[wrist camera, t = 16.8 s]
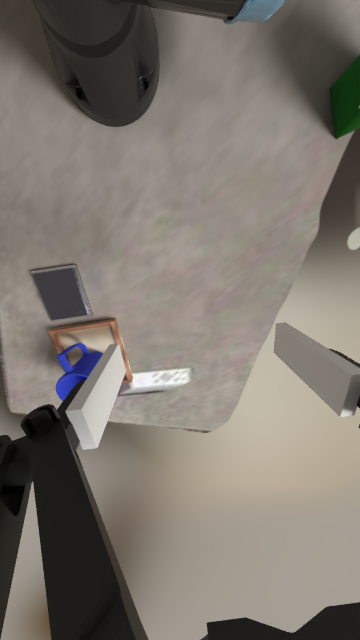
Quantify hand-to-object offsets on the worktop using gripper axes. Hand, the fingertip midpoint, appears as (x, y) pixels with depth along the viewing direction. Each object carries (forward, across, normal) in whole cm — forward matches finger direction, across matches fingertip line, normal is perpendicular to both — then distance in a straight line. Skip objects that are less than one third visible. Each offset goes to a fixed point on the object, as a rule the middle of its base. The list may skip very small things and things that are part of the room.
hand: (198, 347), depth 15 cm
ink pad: (+26, -25, +2) cm, 36 cm away
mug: (+26, -23, -14) cm, 37 cm away
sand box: (+26, -23, -14) cm, 37 cm away
